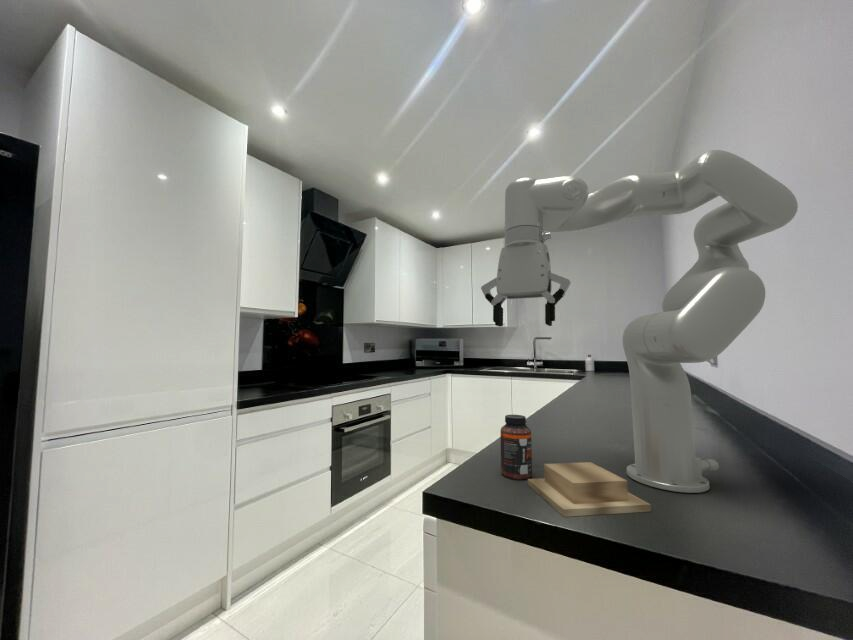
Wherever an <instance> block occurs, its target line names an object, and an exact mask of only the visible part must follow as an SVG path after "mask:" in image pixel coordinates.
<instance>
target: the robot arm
mask: <svg viewBox="0 0 853 640" xmlns="http://www.w3.org/2000/svg"><path fill="white" fill-rule="evenodd" d="M504 193H505V194H504V247H502V248H501V250H500V254H499V259H498V266H497V274H496V277H495V278H493V279H491V280H490V281H488V282H486V283H485V284H483V285H481V287H480V289H481V292H482V294H483V295H484V298H485V299H486V300H487V301H488V302H489V304H491V306H492V314H493V315H492V322H494V325H495V326H496V327H503V326H504V308H503V307H502V306H503V303H505V301H506V300H507V299H508V300H516V299H520V300H521V299H532V298H533V299H535V298H536V299H537V298H544V299H545V300H546V302H545V304H544V315H545V316H544V321H545V322H544V323H545V324H544V325H547V326H548V327H552V326H553V322H555V321H556V305H557V304H558V302H559V301H561V300H562V298H564V296H566V292H567V291H568V289H569V288H570V286H571V281H570V279H568V278H566V277H563V276H561V275H559V274H556V273H553V272H552V270H551V268H552V266H551V259H550V252H549V248H548V245H546V243H545V241H547V240H551V239H552V233H561V232H563V233H564V232H574V231H580V230H585V229H590V228H593V227H599V226H602V225H606V224H611V223H614V222H619V221H621V220H624V219H632V218H634V219H635V218H642V217H643V218H644V217H654V216H656V217H657V216H671V215H681V214H685V213H688V212H691V211H693V210H695V209H697V208H700V207H701V206H703V205H705V204H707V203H708V202H711V201H712V200H714V199H717V198H718V197H719V196H720V197H721V198H722V199H723V200H724V201H726V203H724V204H722V205H720V206H718V207H716V208H714V209H712V210H710V211H709V212H707V213H706V214H704V215H703V216H702V217H701V218H700V219H699V220H698V222H696V224H695V227H694V229H693V239H694V243H695V246H696V249H697V252H698V253H697V254H698V259H697V260H696V262H695V263H693V265H692V266H691V268H690V269H689V270H687V272H685V273H684V275H683V276H682V277H681V278H680V279H679V280H677V282H676V283H675V284H674V285H673V286H671V287H670V288H669V290H668V291H667V292H666V294H665V295H664V297H663V300H662V303H661V304H662V305H661V307H662V311H661V312H656V313H651V314H645V315H642V316H640V317H637V318H635V319H633V320H632V321H630V322H629V323H628V324H627V325H626V327H625V329H624V331H623V333H622V347H623V351H624V355H625V359H626V362H627V366H628V371H629V373H628V375H629V382H630V383H629V384H630V399H631V400H630V402H631V416H632V431H633V432H632V434H633V448H634V463H632V464H629V465H627V466H626V474H627V475H628V477H629V478H631V479H632V480H634V481H635V482H638V483H641V484H643V485H646V486H649V487H653V488H656V489H660V490H664V491H665V490H666V491H669V492H677V493H685V494H691V493H692V494H696V493H699V494H700V493H704V492H707V491H708V490H710V489H711V488H710V487H711V486H710V481H709V480H708V478H706V477H704V476H703V473H704V472H705V471H708V472H709V471H710V472H711V471H717V470H719V468H720V467H719V463H718V462H717V461H716V460H715V459H712V458H710V459H702V458H700V457H697V456H696V455H697V454H696V453H697V452H696V444H695V431H694V421H693V420H694V419H693V406H692V392H691V391H692V390H691V384H690V381H689V378H688V376H687V373H686V371H685V370H684V368H683V366H682V364H692V363H693V364H696V363H698V364H699V363H704V362H708V361H710V360H713V359H714V358H716V357H718V356H719V355H720V354H722V353H723V352H724V351H725V350H726V349H728V347H729V346H730V345H731V344H732V343H733V342H734V341H735V340H736V339H737V338H738V336H739V335H740V334H742V332H743V331H744V330H745V329H746V328H747V327H748V326H749V325H750V324H751V323H752V322H753V320H754V319H755V318H756V317H757V316H758V314H760V312H761V311H762V310H763V309H762V308H763V307H764V304H765V299H766V287H765V284H764V282H763V279H761V277H760V276H759V275H758V274H757V273H756V272H755V271H753V270H751V269H750V266H749V265H750V264H749V263H748V261H747V259H746V258H745V257H744V255H743V253H742V251H741V248H740V247H739V244H740V243H743V242H746V241H749V240H751V239H754V238H757V237H760V236H763V235H766V234H768V233H771V232H775V231H776V230H778V229H780V228H783V227H785V226H786V225H787V224H789V223H790V222H791V221H792V220H793V219H794V218H795V216H796V215H797V212H798V207H799V206H798V205H799V204H798V200H797V197H796V196H795V194H794V193H793V191H792V190H790V188H788V186H786V185H785V184H784V183H782V182H780V180H777V179H776V178H774V177H773V176H772V175H770V174H768V173H767V172H765V170H762V169H761V168H759V167H758V166H756V165H755V164H754V163H751V162H750V161H748V160H746V159H745V158H743V157H741V156H739V155H737V154H734V153H732V152H730V151H726V150H722V149H710V150H709V151H705V152H703V153H702V154H700V155H698V156H697V157H695V158H694V159H692V161H690V162H689V163H687V164H686V165H684V166H683V167H682V168H680V169H677V170H675V171H664V172H652V173H651V172H650V173H638V174H635V173H634V174H628V175H626V176H623V177H621V178H619V179H617V180H615V181H613V182H610V183H608V184H607V185H605V186H604V187H601V188H600V189H598V190H596V191H593V192H592V193H589V186H588V184H587V183H586V181H584V180H583V179H582V178H581V177H578V176H575V175H563V176H562V175H561V176H556V177H555V176H554V177H548V178H539V179H538V178H537V179H536V178H533V177H520V178H517V179H514V180H513V181H511V182H510V183H509V184H508V185H507V186H506V188H505V192H504ZM553 282H554V283H557V284H559V285H560V286H559V288H558V290H556V291H555V293H553V294H551V293H552V283H553ZM494 288H496V293H497V294H496V295H495V296H493V294H492V292H491V291H492V289H494Z"/></svg>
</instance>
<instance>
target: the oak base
mask: <svg viewBox="0 0 853 640" xmlns="http://www.w3.org/2000/svg"><path fill="white" fill-rule="evenodd" d="M543 467H544V468H543V469H544V473H543V474H544V477H542V478H541V477H540V478H528V479H527V486H529V488H530V489H532V490H533V491H534V492H536V493H537V495H539V496H540V497H541V498H542V499H544V500H545V501H546V502H547V503H548V504H549V505H550V506H552V508H553V509H555V510H556V512H558V513H559V514H560V515H561V516H562V517H563V518H567V517H582V516H586V517H587V516H599V515H613V514H614V515H615V514H616V515H617V514H630V513H631V514H633V513H648V512H652V505H651V504H650V503H649V502H647V501H645V500H643V499H642V498H640V497H638V496H636V495H634V494H632V493H630V492H629V491H628V490H629V489H628V481H627V479H625V478H623V477H621V476H619V475H617V474H615V473H613V472H611V471H610V470H606V468H603V467H601V466H599V465H597V464H595V463H593V462H591V461H588V462H587V461H585V462H582V461H581V462H560V463H559V462H558V463H543Z"/></svg>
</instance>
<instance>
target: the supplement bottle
mask: <svg viewBox="0 0 853 640" xmlns="http://www.w3.org/2000/svg"><path fill="white" fill-rule="evenodd" d="M504 419H505V420H504V422H505V424H504V425H503V426H501V428H500V433H499V434H500V469H501V470H500V472H501V475H503V476H505V477H507V478H509V479H512V480H513V479H514V480H528V479H531V478H532V475H533V451H532V450H533V449H532V447H533V445H532V442H533V441H532V430H531V429H530V428H529V427H528V425H527V421H526V420H527V417H526V416H525V415H522V414H506V415H505V417H504Z"/></svg>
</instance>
